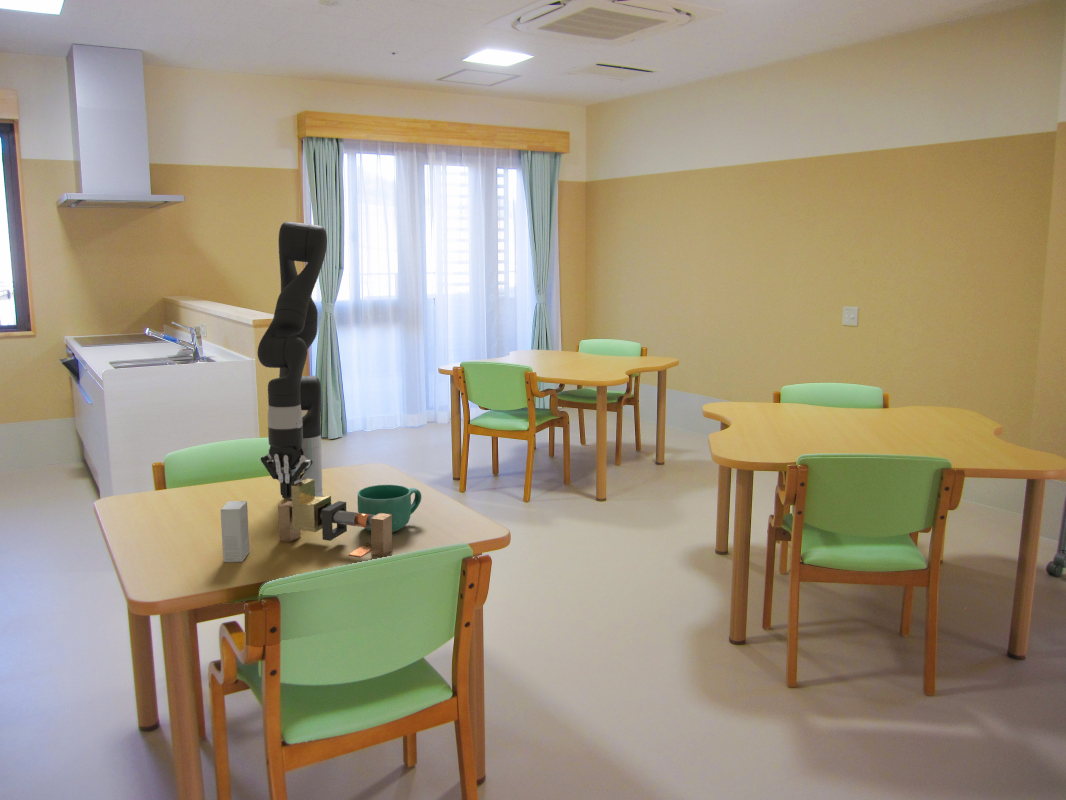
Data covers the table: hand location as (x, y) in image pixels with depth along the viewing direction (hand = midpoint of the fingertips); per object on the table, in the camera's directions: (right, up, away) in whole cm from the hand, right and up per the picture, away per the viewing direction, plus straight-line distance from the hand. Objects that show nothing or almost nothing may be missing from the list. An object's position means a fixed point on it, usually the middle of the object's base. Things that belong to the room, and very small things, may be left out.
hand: (287, 497), depth 188 cm
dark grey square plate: (+11, -8, -2) cm, 14 cm away
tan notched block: (+6, -7, -1) cm, 9 cm away
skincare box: (-8, -12, -10) cm, 18 cm away
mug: (+22, -9, +11) cm, 26 cm away
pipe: (+11, -11, -2) cm, 16 cm away
